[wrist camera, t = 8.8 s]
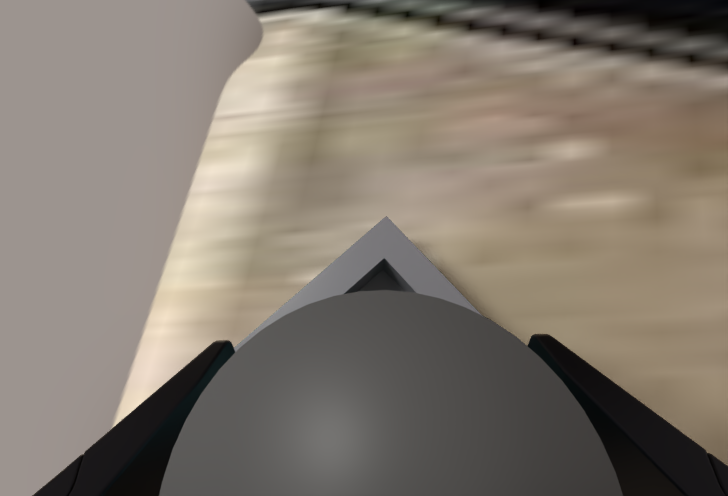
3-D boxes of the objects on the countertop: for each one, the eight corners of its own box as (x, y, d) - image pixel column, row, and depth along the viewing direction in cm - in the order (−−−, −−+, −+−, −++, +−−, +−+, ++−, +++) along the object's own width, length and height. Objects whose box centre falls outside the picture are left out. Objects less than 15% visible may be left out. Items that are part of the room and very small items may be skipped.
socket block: (371, 496, 15) (369, 560, 11) (260, 345, 17) (224, 355, 13) (503, 363, 16) (544, 380, 12) (384, 236, 18) (386, 216, 14)
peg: (368, 434, 15) (324, 1058, 3) (310, 345, 16) (77, 464, 4) (450, 368, 16) (755, 612, 3) (388, 286, 17) (422, 213, 4)
